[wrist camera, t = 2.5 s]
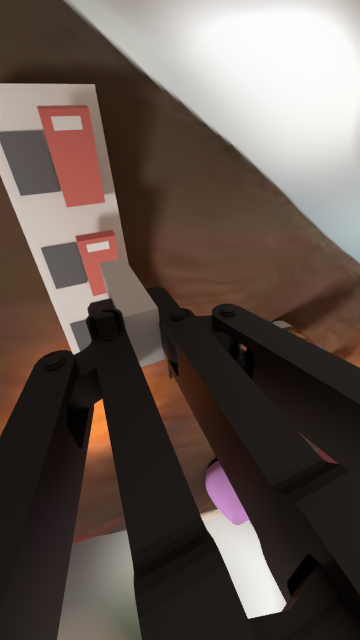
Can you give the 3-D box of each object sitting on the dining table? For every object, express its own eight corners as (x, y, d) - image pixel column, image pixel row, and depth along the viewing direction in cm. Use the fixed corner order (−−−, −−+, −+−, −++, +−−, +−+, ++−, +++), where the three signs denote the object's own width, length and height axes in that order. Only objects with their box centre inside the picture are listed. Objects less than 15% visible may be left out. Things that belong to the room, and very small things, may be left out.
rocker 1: (65, 202, 23) (67, 207, 22) (36, 105, 17) (37, 109, 17) (102, 197, 24) (105, 203, 23) (86, 105, 18) (89, 108, 18)
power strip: (90, 385, 40) (94, 409, 36) (-23, 95, 20) (-42, 79, 16) (144, 367, 43) (153, 388, 39) (89, 94, 23) (96, 80, 19)
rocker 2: (91, 290, 28) (93, 297, 27) (75, 235, 22) (76, 242, 22) (121, 283, 29) (123, 289, 28) (112, 229, 23) (115, 235, 23)
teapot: (208, 493, 81) (234, 549, 69) (195, 466, 68) (224, 529, 57) (266, 457, 85) (299, 504, 74) (264, 426, 73) (304, 477, 61)
